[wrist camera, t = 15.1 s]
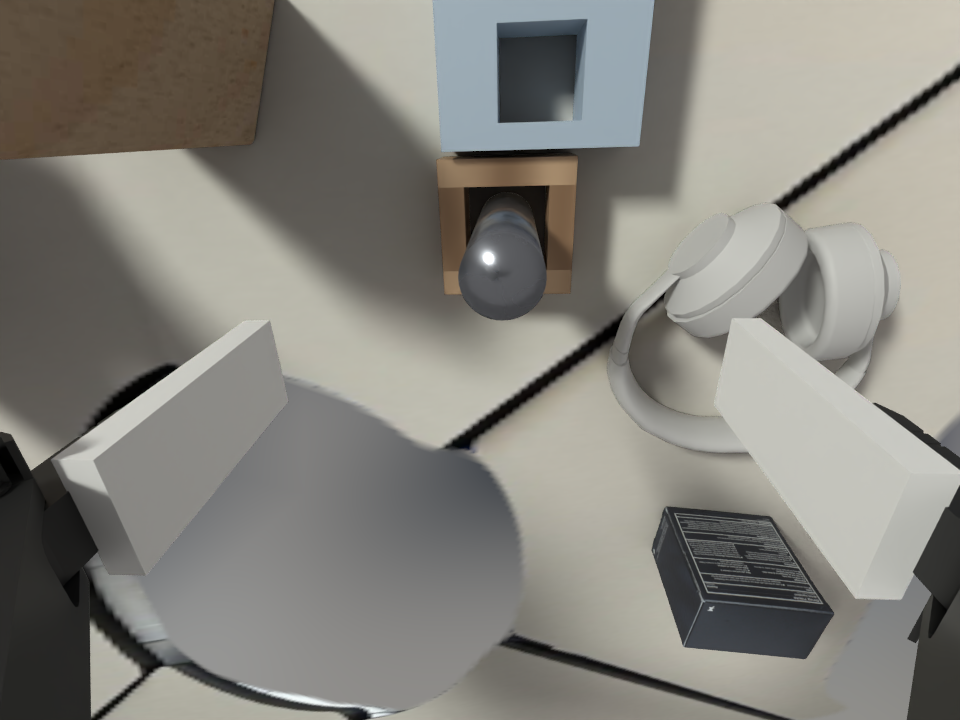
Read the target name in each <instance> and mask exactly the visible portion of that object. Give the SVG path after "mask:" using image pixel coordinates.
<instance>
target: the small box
mask: <svg viewBox="0 0 960 720" xmlns="http://www.w3.org/2000/svg"><path fill="white" fill-rule="evenodd" d="M652 553H653V555H654V559H655V561H656V564H657V567H658V570H659V573H660V576H661V580H662V583H663V586H664V588H665V591H666V595H667V598H668V601H669V604H670V607H671V610H672V613H673V616H674V619H675V622H676V625H677V628H678V631H679V634H680V637H681V640H682V644H683V647H687V648H697V649H708V650H718V651H728V652H739V653H749V654H759V655H769V656H779V657H789V658H799V659H806V658H807V656H808V655H809V654H810V652H811V651H812V649H813V647H814V646H815V644H816V642H817V641H818V639H819V638H820V636H821V634H822V633H823V631H824V629H825V628H826V626H827V624H828V623H829V621H830V620H831V618H832V617H833V615H834V612H833V611H832V609H831V608H830V606H829V605H828V604H827V603H826V601H825V600H824V598H823V597H822V595H821V594H820V593H819V591H818V590H817V588H816V587H815V585H814V584H813V582H812V581H811V580H810V577H809V576H808V575H807V573H806V571H805V570H804V568H803V567H802V565H801V564H800V562H799V561H798V559H797V557H796V556H795V555H794V553H793V551H792V550H791V548H790V547H789V546H788V544H787V542H786V540H785V539H784V537H783V536H782V534H781V533H780V531H779V530H778V528H777V526H776V525H775V523H774V522H773V520H772V518H771V517H769V516H759V515H749V514H739V513H728V512H717V511H707V510H697V509H687V508H677V507H666V508H665V509H664V511H663V514H662V518H661V522H660V525H659V528H658V531H657V534H656V537H655V538H654V542H653V547H652Z"/></svg>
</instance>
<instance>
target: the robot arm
mask: <svg viewBox="0 0 960 720" xmlns="http://www.w3.org/2000/svg"><path fill="white" fill-rule="evenodd" d="M287 403H288V397H287V393H286V388H285V384H284V379H283V375H282V371H281V366H280V362H279V357H278V353H277V349H276V344H275V340H274V336H273V331H272V327H271V323H270V320H245V321H243V322H242V323H240V324H239V325H238V326H236V327H235V328H233V329H232V330H231V331H229V332H228V333H226V334H225V335H224V336H222V337H221V338H219V339H218V340H217V341H215V342H214V343H213V344H211V345H210V346H208V347H207V348H206V349H204V350H203V351H201V352H200V353H199V354H197V355H196V356H194V357H193V358H192V359H190V360H189V361H187V362H186V363H185V364H183V365H182V366H180V367H179V368H178V369H176V370H175V371H173V372H172V373H171V374H169V375H168V376H167V377H165V378H164V379H162V380H161V381H160V382H158V383H157V384H155V385H154V386H153V387H151V388H150V389H148V390H147V391H146V392H144V393H143V394H141V395H140V396H139V397H137V398H136V399H134V400H133V401H132V402H130V403H129V404H128V405H126V406H124V407H122V408H120V409H118V410H116V411H114V412H113V413H112V414H110V415H109V416H107V417H106V418H105V419H103V420H102V421H100V422H99V423H97V426H93V427H92V428H90V429H89V430H88V431H86V432H85V433H83V434H82V437H78V438H76V439H75V440H74V441H72V442H71V443H69V444H68V445H67V446H65V447H64V448H62V449H61V450H60V451H58V452H57V453H55V454H54V455H53V456H51V457H50V458H48V459H47V460H45V461H44V462H43V463H41V464H40V465H38V466H37V467H36V468H34V469H33V470H31V471H30V469H29V467H28V465H27V463H26V461H25V460H24V458H23V456H22V454H21V452H20V450H19V448H18V446H17V445H16V443H15V441H14V439H13V437H12V435H11V434H7V433H4V432H0V720H91V690H90V611H89V580H88V578H87V576H86V574H85V572H84V570H83V568H82V567H83V566H84V565H85V564H86V563H87V562H88V561H89V560H90V559H91V558H92V557H93V556H94V555H95V554H96V553H97V552H98V554H99V556H100V558H101V560H102V562H103V564H104V566H105V568H106V570H107V572H108V574H109V575H140V576H146V575H147V574H148V573H149V571H150V570H151V569H152V568H153V566H154V565H155V564H156V563H157V562H158V560H159V559H160V558H161V557H162V555H163V554H164V553H165V552H166V551H167V549H168V548H169V547H170V546H171V545H172V543H173V542H174V541H175V540H176V538H177V537H178V536H179V535H180V534H181V532H182V531H183V530H184V529H185V527H186V526H187V525H188V524H189V523H190V521H191V520H192V519H193V518H194V516H195V515H196V514H197V513H198V512H199V510H200V509H201V508H202V507H203V505H204V504H205V503H206V502H207V501H208V499H209V498H210V497H211V496H212V495H213V493H214V492H215V491H216V490H217V488H218V487H219V486H220V485H221V484H222V482H223V481H224V480H225V479H226V477H227V476H228V475H229V474H230V473H231V471H232V470H233V469H234V468H235V466H236V465H237V464H238V463H239V461H240V460H241V459H242V458H243V457H244V455H245V454H246V453H247V452H248V450H249V449H250V448H251V447H252V445H253V444H254V443H255V442H256V441H257V439H258V438H259V437H260V436H261V435H262V433H263V432H264V431H265V430H266V429H267V427H268V426H269V425H270V424H271V422H272V421H273V420H274V419H275V417H276V416H277V415H278V414H279V413H280V411H281V410H282V409H283V408H284V406H285V405H286V404H287ZM714 406H715V407H716V408H717V410H718V411H719V412H720V414H721V415H722V417H723V418H724V419H725V421H726V422H727V423H728V425H729V426H730V427H731V429H732V430H733V432H734V433H735V434H736V436H737V437H738V438H739V440H740V441H741V443H742V444H743V445H744V447H745V448H746V449H747V451H748V452H749V454H750V455H751V456H752V458H753V459H754V460H755V462H756V463H757V464H758V466H759V467H760V469H761V470H762V471H763V473H764V474H765V475H766V477H767V478H768V480H769V481H770V482H771V484H772V485H773V486H774V488H775V489H776V491H777V492H778V493H779V495H780V496H781V497H782V499H783V500H784V501H785V503H786V504H787V506H788V507H789V508H790V510H791V511H792V512H793V514H794V515H795V517H796V518H797V519H798V521H799V522H800V523H801V525H802V526H803V528H804V529H805V530H806V532H807V533H808V534H809V536H810V537H811V539H812V540H813V541H814V543H815V544H816V545H817V547H818V548H819V549H820V551H821V552H822V554H823V555H824V556H825V558H826V559H827V560H828V562H829V563H830V565H831V566H832V567H833V569H834V570H835V571H836V573H837V574H838V576H839V577H840V578H841V580H842V581H843V582H844V584H845V585H846V586H847V588H848V589H849V591H850V592H851V593H852V595H853V596H854V597H855V599H882V600H902V598H903V596H904V594H905V592H906V590H907V588H908V586H909V584H910V582H911V580H912V578H913V576H914V574H915V575H916V577H918V579H919V580H920V581H921V582H922V583H923V584H924V585H925V586H926V588H927V589H928V590H929V591H930V592H931V593H932V594H931V596H930V598H929V600H928V602H927V604H926V605H925V607H924V609H923V611H922V613H921V615H920V617H919V619H918V620H917V622H916V624H915V626H914V628H913V629H912V632H911V633H910V635H909V637H908V639H909V640H911V641H913V642H915V643H916V642H917V641H918V639H919V643H918V649H917V656H916V662H915V670H914V676H913V682H912V690H911V696H910V702H909V709H908V716H907V720H960V457H958V456H957V455H956V454H954V453H953V452H952V451H950V450H949V449H948V448H946V447H941V445H940V444H941V443H939V442H938V441H937V440H935V439H934V438H933V437H931V436H930V435H929V434H924V433H923V430H922V429H920V428H919V427H918V426H916V425H915V424H914V423H912V422H911V421H910V420H908V419H907V418H905V417H904V416H903V415H900V414H898V413H896V412H894V411H892V410H890V409H888V408H885V407H883V406H881V405H879V404H877V403H871V402H870V401H869V400H867V399H866V398H865V397H863V396H862V395H861V394H859V393H858V392H857V391H856V390H854V389H853V388H852V387H850V386H849V385H848V384H846V383H845V382H844V381H842V380H841V379H840V378H839V377H837V376H836V375H835V374H833V373H832V372H831V371H829V370H828V369H827V368H825V367H824V366H823V365H822V364H820V363H819V362H818V361H816V360H815V359H814V358H812V357H811V356H810V355H808V354H807V353H806V352H804V351H803V350H802V349H801V348H799V347H798V346H797V345H795V344H794V343H793V342H791V341H790V340H789V339H787V338H786V337H785V336H784V335H782V334H781V333H780V332H778V331H777V330H776V329H774V328H773V327H772V326H770V325H769V324H768V323H767V322H765V321H764V320H763V319H761V318H732V320H731V325H730V330H729V335H728V339H727V344H726V349H725V354H724V359H723V363H722V368H721V373H720V378H719V382H718V387H717V392H716V397H715V401H714Z"/></svg>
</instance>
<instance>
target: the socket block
mask: <svg viewBox="0 0 960 720" xmlns="http://www.w3.org/2000/svg"><path fill="white" fill-rule="evenodd" d="M653 10H654V0H433V15H434V32H435V49H436V67H437V84H438V102H439V119H440V136H441V152H456V151H492V150H528V149H563V148H599V147H634V146H639V144H640V134H641V125H642V115H643V106H644V96H645V86H646V77H647V67H648V58H649V48H650V38H651V29H652V19H653ZM559 35H577V43H576V63H575V84H574V104H573V121H548V122H517V123H500V93H499V38H513V37H536V36H559Z"/></svg>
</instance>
